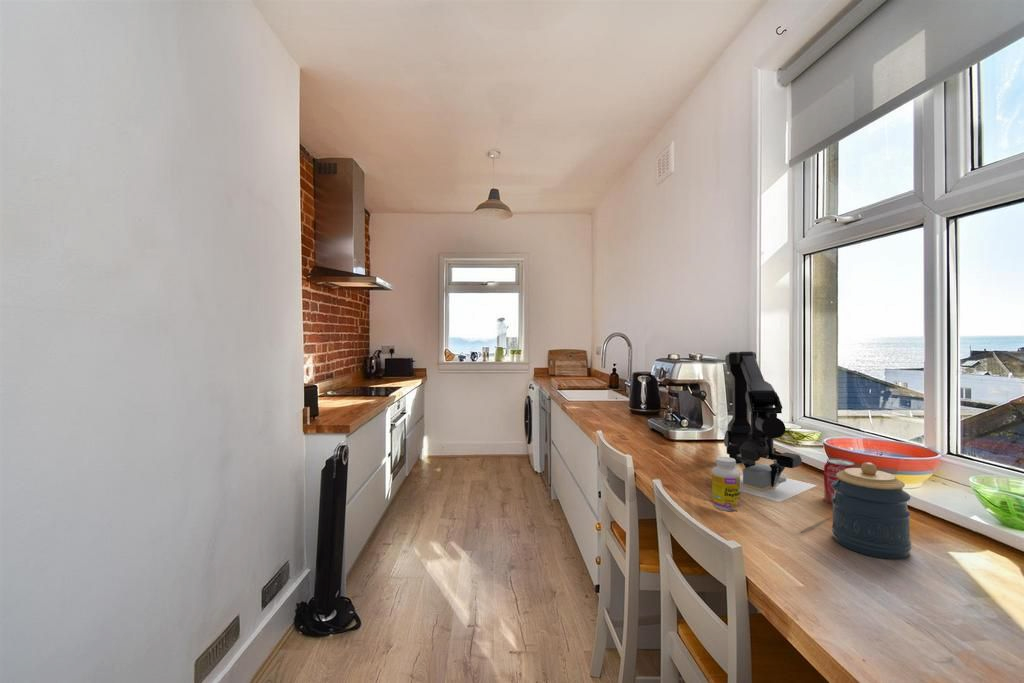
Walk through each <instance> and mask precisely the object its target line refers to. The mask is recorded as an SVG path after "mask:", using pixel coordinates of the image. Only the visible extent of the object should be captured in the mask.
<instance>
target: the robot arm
mask: <svg viewBox="0 0 1024 683" xmlns="http://www.w3.org/2000/svg"><path fill="white" fill-rule="evenodd" d="M724 361H725V362H724V363H725V365H726V368H727V369H726V370H727V372H728V373H729V374H730V376H731V377H732V381H731V382H732V387H731V388H732V396H731V397H732V418H731V420H730V421H729V423H727V430H726V431H725V434H724V437H723V446H725V448H726V454H727V455H728V457H730V458H733V459H735V460H736V464H743V465H744V467H745V468H748V467H751V466H754V465H756V462H758V461H760V459H762V458H763V459H766V460H771V461H773V463H771V464H769V466H770V467H771V486H772V487H775V485H776V483H777V481H778V479H779V477H781V474H782V473H783V471H784V470H785V468H788V469H794V468H797V467H800V466H802V465H803V464H802V462H803V459H802V458H801V457H802V456H800V454H796V453H792V452H782V453H779V454H778V453H775V452H776V450H777V448H775V447H774V439H779V438H780V437H782V436H783V435H784V434H785V433H786V425H785V423H784V421H783V420H782V419H780V418H778V414H782V411H783V410H782V409H783V405H782V402H781V400H780V397H779V395H778V393H777V392H776V391H775V388H774V387H773V385H772V384H771V383H769V382H768V381H766V380H765V378H764V375H763V374H762V371H761V369H760V367H759V364H758V361H757V354H756V352H754V351H730V352H729V353H728V354H726V355H725V360H724ZM748 412H749V413H750V423H749V421H748ZM745 468H744V469H745Z"/></svg>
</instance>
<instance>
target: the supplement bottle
mask: <svg viewBox="0 0 1024 683" xmlns="http://www.w3.org/2000/svg"><path fill="white" fill-rule="evenodd" d="M715 463H716V466H714V467H713V468H712V470H711V491H712V492H711V493H712V494H711V497H712V500H711V501H712V503H711V504H712V506H713V507H714V508H715V509H717V510H720V511H722V512H730V513H731V512H732V513H733V512H738V509H734V508H735V507H739V506H740V505H741V491H740V475H741V473H740V471H739V470H738V469H737V468H736V465H737V463H736V460H735V459H733V458H730V457H729V456H717V457H716V458H715Z"/></svg>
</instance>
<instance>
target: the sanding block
mask: <svg viewBox="0 0 1024 683" xmlns="http://www.w3.org/2000/svg"><path fill="white" fill-rule="evenodd" d="M742 474H743V486H744V487H748V488H751V489H755V490H759V491H762V492H763V491H766V490H768V489H771V488H773V487H772V486H771V467H770V465H766V464H762V463H758V464H755V465H754V466H751V467H748V468H742ZM778 485H779V479H778V481H777V483H776V485H775V487H776V486H778Z"/></svg>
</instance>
